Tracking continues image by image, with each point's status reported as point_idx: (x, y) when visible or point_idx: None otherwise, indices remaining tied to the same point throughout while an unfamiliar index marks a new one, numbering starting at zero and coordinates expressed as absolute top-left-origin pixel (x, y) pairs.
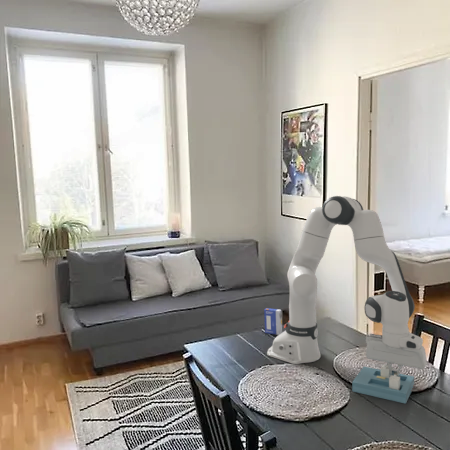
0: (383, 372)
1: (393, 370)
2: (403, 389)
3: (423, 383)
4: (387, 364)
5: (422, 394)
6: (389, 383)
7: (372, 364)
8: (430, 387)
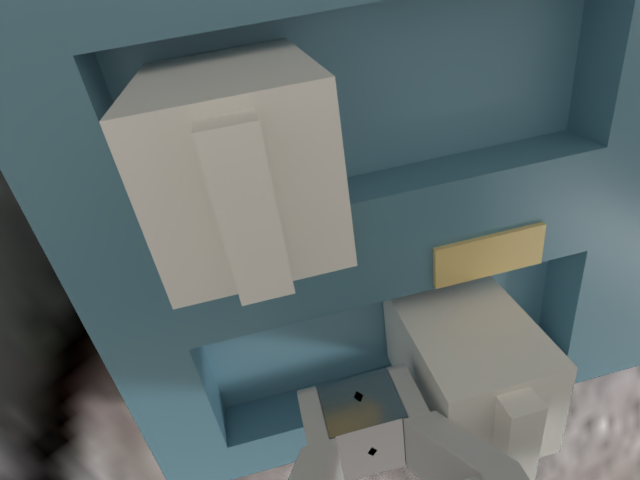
0: (497, 332)
1: (386, 427)
2: (60, 128)
3: (140, 476)
4: (521, 475)
5: (13, 327)
6: (304, 61)
7: (570, 452)
8: (51, 465)
